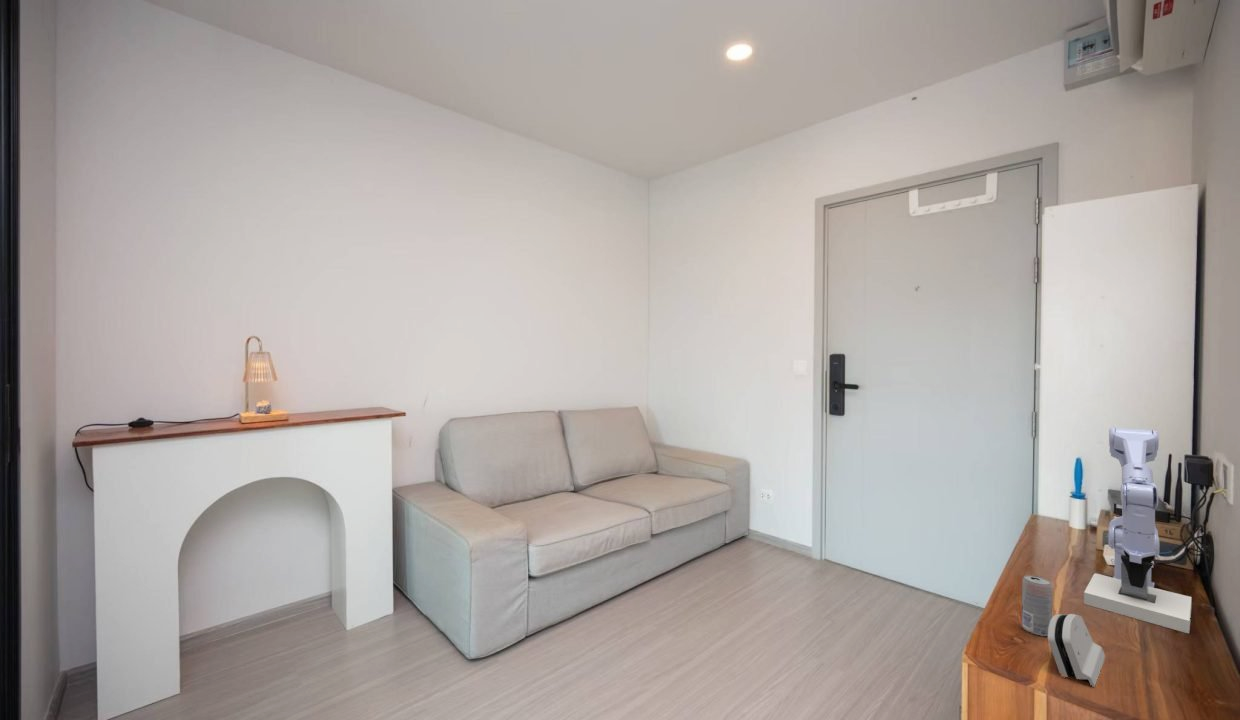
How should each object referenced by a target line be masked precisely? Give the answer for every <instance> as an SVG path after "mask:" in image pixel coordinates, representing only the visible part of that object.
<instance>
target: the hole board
mask: <svg viewBox="0 0 1240 720" xmlns="http://www.w3.org/2000/svg"><path fill="white" fill-rule="evenodd" d="M1083 604H1084V605H1087V606H1090V607H1092V608H1093V607H1094V608H1098V609H1100V610H1105V611H1109V612H1111V613H1115V614H1117V615H1118V614H1119V615H1122V616H1126V617H1129V618H1133V619H1135V620H1140V621H1143V622H1146V623H1149V624H1154V625H1157V626H1161V627H1164V628H1168V629H1171V630H1175V631H1178V632H1181V633H1184V634H1190V630H1191V619H1190V618H1192V616H1191V615H1192V596H1189V595H1184V594H1181V593H1176V592H1173V591H1168V590H1164V589H1160V588H1156V587H1154V588H1153V587H1149V586H1148V599H1147V600H1143V599H1139V598H1135V597H1131V596H1126V595H1122V585H1121V580H1120V579H1116V578H1113V576H1112V577H1111V576H1107V575H1104V574H1100V573H1096V572H1095V573H1094V574H1093V575H1092V577H1091V578H1090V580H1089V583H1088V584H1087V586H1086V588H1085V590H1084V592H1083Z"/></svg>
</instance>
